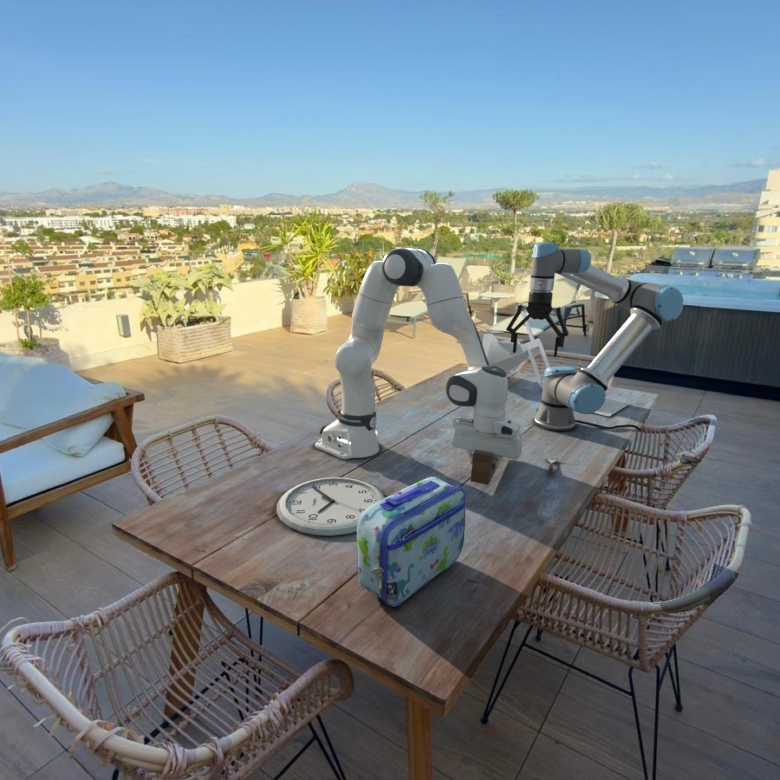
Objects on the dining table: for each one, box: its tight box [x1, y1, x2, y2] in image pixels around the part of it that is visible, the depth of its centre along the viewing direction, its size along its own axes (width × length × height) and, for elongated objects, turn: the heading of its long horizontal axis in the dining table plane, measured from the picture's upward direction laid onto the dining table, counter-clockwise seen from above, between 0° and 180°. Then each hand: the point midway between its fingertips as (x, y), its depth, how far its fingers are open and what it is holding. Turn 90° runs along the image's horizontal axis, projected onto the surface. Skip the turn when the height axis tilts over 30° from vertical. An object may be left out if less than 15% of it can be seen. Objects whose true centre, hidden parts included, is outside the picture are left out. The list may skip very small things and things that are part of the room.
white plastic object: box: [482, 310, 551, 390], centre depth 258 cm, size 37×45×31 cm
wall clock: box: [276, 476, 386, 537], centre depth 142 cm, size 30×2×30 cm
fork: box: [547, 451, 558, 477], centre depth 168 cm, size 3×16×2 cm, turn 160°
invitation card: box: [593, 398, 629, 418], centre depth 226 cm, size 21×1×15 cm
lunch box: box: [356, 476, 466, 608], centre depth 110 cm, size 26×11×21 cm, turn 134°
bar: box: [470, 450, 501, 486], centre depth 163 cm, size 28×5×9 cm, turn 158°
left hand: (484, 465), depth 155 cm, fingers closed on bar, 5 cm apart
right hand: (534, 354), depth 178 cm, fingers open, 13 cm apart
